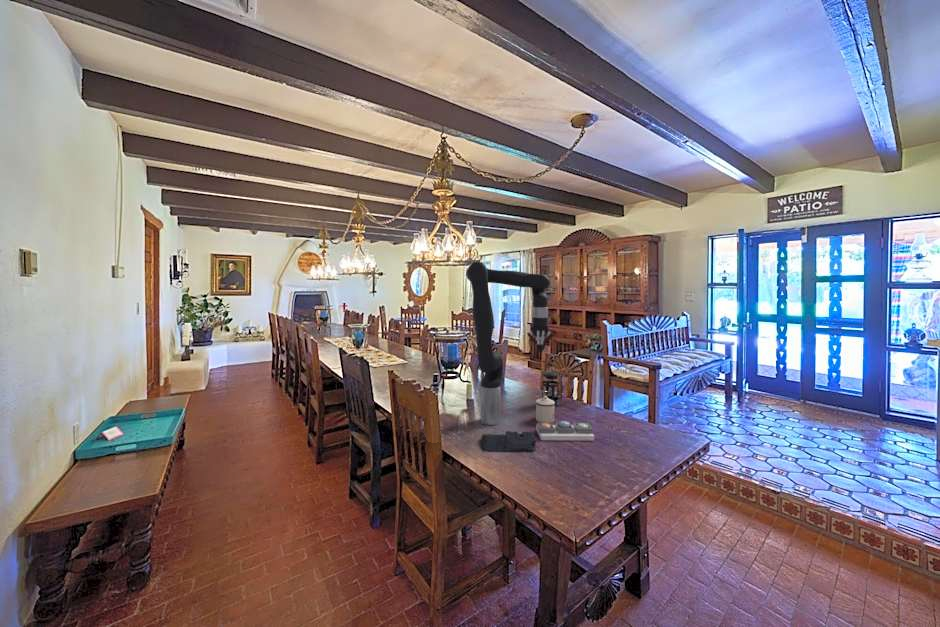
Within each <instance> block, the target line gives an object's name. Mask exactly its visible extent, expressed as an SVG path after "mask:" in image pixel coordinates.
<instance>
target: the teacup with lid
mask: <svg viewBox="0 0 940 627" xmlns="http://www.w3.org/2000/svg"><path fill="white" fill-rule="evenodd" d="M554 405H555V402H554V401H553V400H550V399H549V398H548V397H547V396H546V395H543V398H542V397H541V398H538V399H536V400H535V420H536V422H537V423H552V424H553V423H554V422H555V407H554Z"/></svg>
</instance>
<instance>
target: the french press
mask: <svg viewBox="0 0 940 627" xmlns="http://www.w3.org/2000/svg"><path fill="white" fill-rule="evenodd" d="M546 365H549V367H550V368H549V371H544V372H543V371H542V373H541V375H542V376H543V377H545V378H546V379H547V380H542V381H541V398H543V396H547V397H548V398H549V399H550V400H553V401H554V402H555V405H554V408H556V407H559V405H560V404H559V400H562V398H563V397H562V396H563V395H562V394H563V383H562V382H561V381H560V382H559V381H557V380H558V379H559V376H560V373H558V372H555V371H554V372H553V371H552V370H551V369H552V365H555V362H552V361H548V362H546ZM544 387H545V390H544ZM555 389H556V390H555ZM559 389H560V390H559ZM559 392H560V393H559Z"/></svg>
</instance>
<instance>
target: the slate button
mask: <svg viewBox="0 0 940 627" xmlns="http://www.w3.org/2000/svg"><path fill="white" fill-rule="evenodd" d="M558 423H559V428H570V424H571V423H570V422H569V421H567V420H561V421H559V422H558Z"/></svg>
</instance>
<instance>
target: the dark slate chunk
mask: <svg viewBox="0 0 940 627" xmlns="http://www.w3.org/2000/svg"><path fill="white" fill-rule="evenodd" d="M534 435H535V434H534V432H533V431H522V433H519V432H518V431H509V430H507V431H506V432H505V433H504V434H495V433H494V434H489V433H483V434H482V435H481V437H480V438H481V439H480V442H481V448H482V450H483V451H484V452H485V451H487V452H486V453H534V452H535V451H537V449H536V447H535V446H536V443H537V440H536V439H537V438H536V437H535V436H534Z"/></svg>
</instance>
